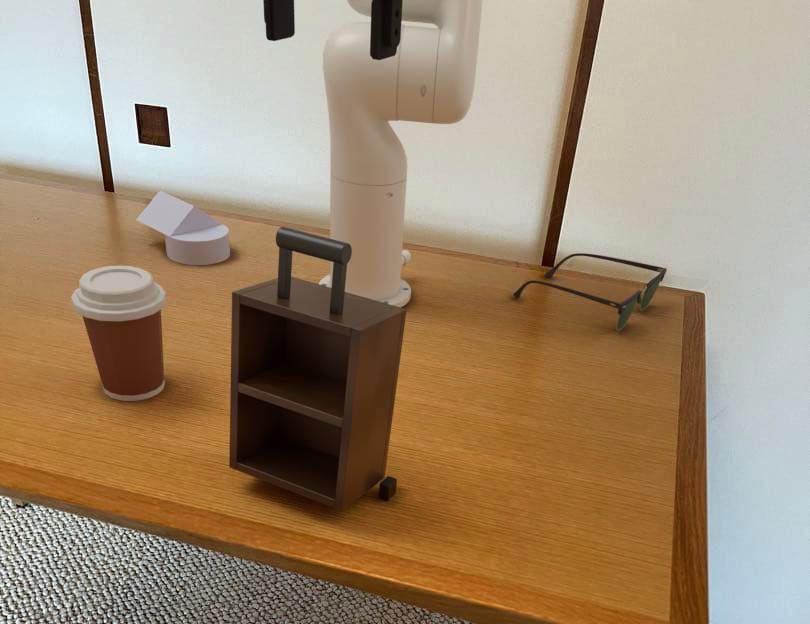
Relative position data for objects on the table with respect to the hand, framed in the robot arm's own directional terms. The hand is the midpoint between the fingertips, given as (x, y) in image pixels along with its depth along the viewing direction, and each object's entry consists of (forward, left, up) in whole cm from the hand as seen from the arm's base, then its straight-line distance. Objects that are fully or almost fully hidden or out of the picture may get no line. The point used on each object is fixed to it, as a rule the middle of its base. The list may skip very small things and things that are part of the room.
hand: (330, 47), depth 65 cm
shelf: (+7, +6, -22) cm, 24 cm away
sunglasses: (-45, +14, -34) cm, 58 cm away
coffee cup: (+7, -20, -34) cm, 40 cm away
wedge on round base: (-28, -41, -34) cm, 60 cm away
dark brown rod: (+9, +6, -34) cm, 35 cm away
